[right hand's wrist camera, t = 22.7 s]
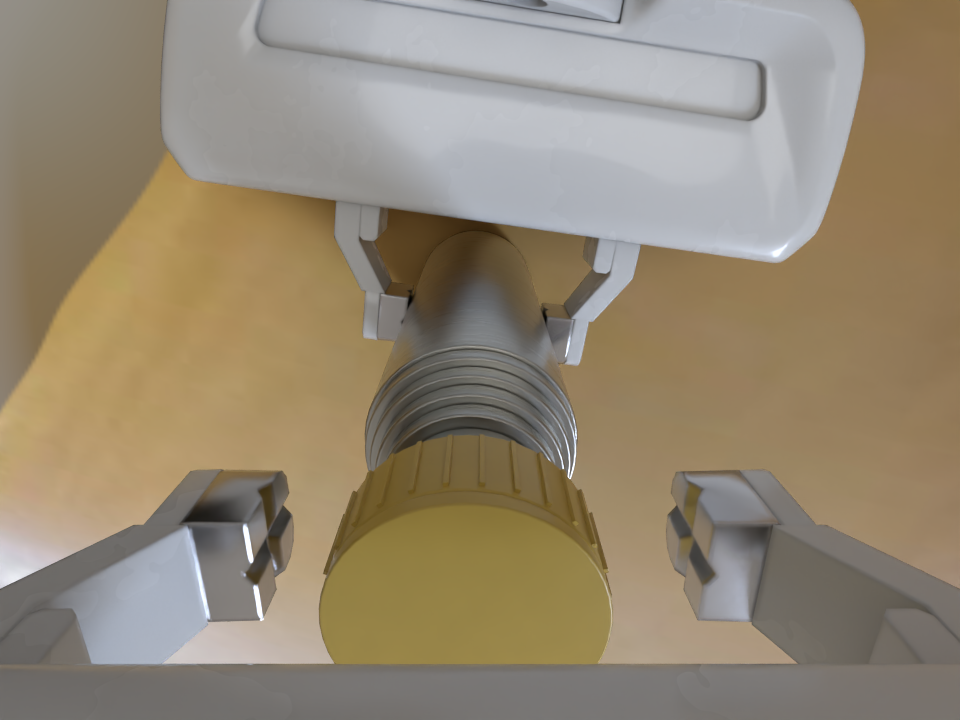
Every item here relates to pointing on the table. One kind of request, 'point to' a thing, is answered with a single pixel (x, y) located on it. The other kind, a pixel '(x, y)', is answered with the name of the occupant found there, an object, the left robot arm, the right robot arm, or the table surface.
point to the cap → (466, 562)
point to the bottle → (473, 359)
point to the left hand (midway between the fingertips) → (472, 347)
